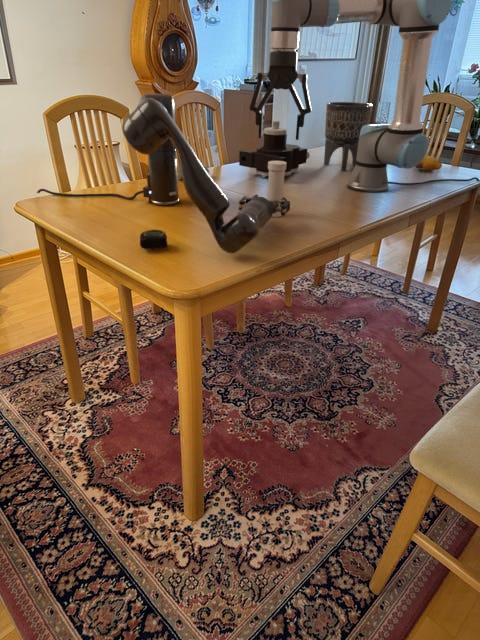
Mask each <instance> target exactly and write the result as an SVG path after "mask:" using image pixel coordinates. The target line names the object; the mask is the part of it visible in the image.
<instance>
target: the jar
mask: <svg viewBox="0 0 480 640" xmlns="http://www.w3.org/2000/svg"><path fill="white" fill-rule="evenodd" d="M284 175H285V170H284V171H272V170H269V176H268V181H267V183H268V184H267V200H275V199H276V200H281V199H282V198H283V197H284V189H285V188H284V187H285V176H284ZM273 204H275V203H273ZM279 207H280V204H279ZM282 216H283V215H281V213H280V212H276V213H273V215H272V217H271V218H279V217H282Z"/></svg>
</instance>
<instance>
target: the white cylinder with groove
mask: <svg viewBox="0 0 480 640" xmlns="http://www.w3.org/2000/svg"><path fill="white" fill-rule="evenodd" d="M268 169H269V170H272V171H284V170H286V162H284V161H269V162H268Z"/></svg>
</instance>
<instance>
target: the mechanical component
mask: <svg viewBox="0 0 480 640" xmlns="http://www.w3.org/2000/svg"><path fill="white" fill-rule="evenodd" d="M287 138H288V129H287V128H286V127H280V121H279V120H272V126H271V127H265V128H263V145H262V146H258V147H257V148H256V151H250V150H245V149H241V150H239V153H238V154H239V155H238V157H239V159H238V166H240V167H245V168H250V169H255V173H256V174H257V175H261V177H262V178H267V177H269V169H268V162H269V161H284V162H286V170H285V175H284V177H285V176H291V175H292V173H298V171H299V167H300V165H303V164H304V165H305V164H307V160H309V158H310V156H311V154H310V152H309V151H308V148H304V147H301V146H299V145H297V144H290V143H287Z"/></svg>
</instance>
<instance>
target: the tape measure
mask: <svg viewBox="0 0 480 640" xmlns="http://www.w3.org/2000/svg"><path fill="white" fill-rule="evenodd" d="M167 236H168V235H167V234H166V232H165V231H164V230H161V229H147V230H144V231H143V232H141V233H140V235H139V240H140V241H139V245H140V246H139V247H141V248H142V249H146V250H157V249H167V248H168V240H167V239H168V237H167Z"/></svg>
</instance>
